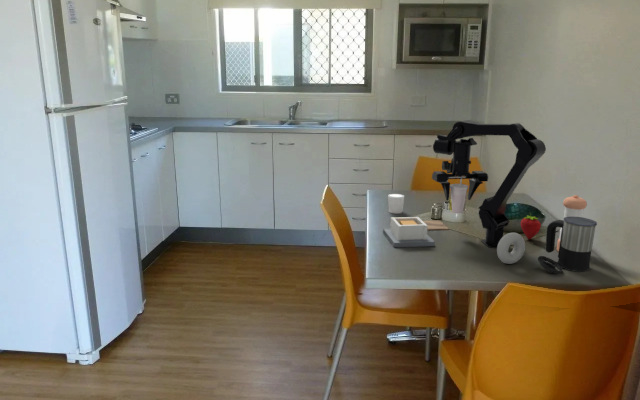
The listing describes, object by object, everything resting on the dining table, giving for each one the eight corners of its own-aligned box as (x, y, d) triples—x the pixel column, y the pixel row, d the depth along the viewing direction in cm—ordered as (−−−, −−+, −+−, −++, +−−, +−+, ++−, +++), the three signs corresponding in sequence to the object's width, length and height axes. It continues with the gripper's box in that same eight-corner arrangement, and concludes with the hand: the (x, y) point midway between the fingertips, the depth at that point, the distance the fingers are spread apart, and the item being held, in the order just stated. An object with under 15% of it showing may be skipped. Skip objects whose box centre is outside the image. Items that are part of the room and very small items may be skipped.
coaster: (448, 229, 197) (448, 228, 197) (420, 230, 196) (420, 229, 196) (439, 221, 208) (439, 220, 208) (411, 221, 207) (411, 220, 206)
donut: (518, 259, 167) (521, 229, 165) (526, 263, 164) (529, 232, 162) (492, 263, 163) (495, 232, 161) (500, 267, 160) (503, 236, 158)
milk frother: (591, 265, 164) (598, 219, 160) (587, 282, 150) (594, 232, 147) (542, 256, 171) (548, 212, 167) (534, 272, 157) (539, 224, 154)
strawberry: (530, 243, 183) (533, 215, 180) (514, 237, 189) (517, 210, 187) (543, 241, 185) (546, 214, 182) (527, 235, 192) (530, 208, 189)
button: (417, 230, 183) (417, 224, 182) (403, 230, 182) (403, 224, 182) (413, 225, 188) (413, 220, 187) (399, 226, 187) (399, 220, 187)
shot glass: (385, 213, 219) (386, 196, 217) (388, 208, 225) (389, 192, 224) (402, 214, 217) (403, 197, 215) (404, 210, 223) (405, 194, 222)
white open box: (434, 245, 179) (435, 227, 177) (394, 247, 177) (395, 228, 176) (420, 231, 194) (421, 214, 193) (382, 232, 193) (383, 215, 191)
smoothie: (469, 213, 187) (472, 175, 184) (452, 214, 186) (454, 175, 183) (462, 209, 193) (464, 171, 190) (445, 209, 192) (447, 172, 189)
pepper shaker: (566, 255, 171) (574, 198, 166) (551, 248, 178) (558, 193, 173) (585, 253, 173) (593, 197, 168) (569, 246, 180) (577, 192, 175)
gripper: (477, 152, 194) (474, 194, 198) (428, 153, 192) (425, 195, 196) (490, 158, 183) (486, 201, 187) (438, 158, 181) (435, 202, 185)
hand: (458, 199), depth 189 cm, fingers closed on smoothie, 8 cm apart
